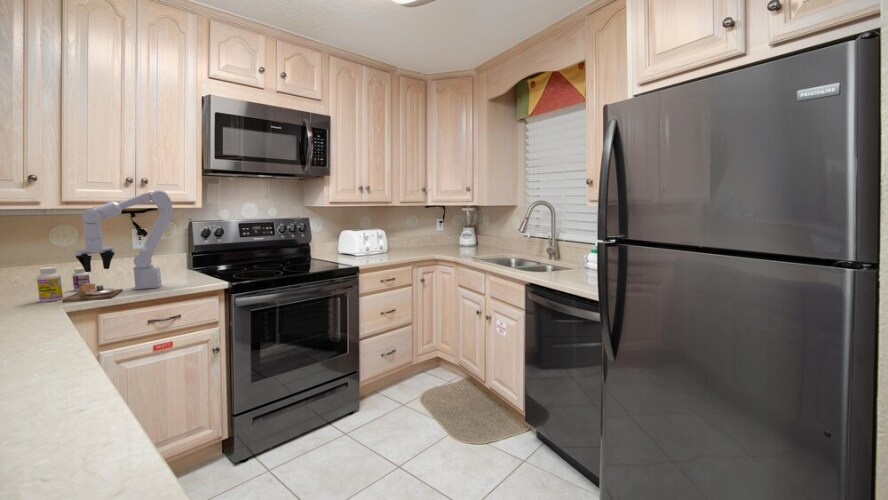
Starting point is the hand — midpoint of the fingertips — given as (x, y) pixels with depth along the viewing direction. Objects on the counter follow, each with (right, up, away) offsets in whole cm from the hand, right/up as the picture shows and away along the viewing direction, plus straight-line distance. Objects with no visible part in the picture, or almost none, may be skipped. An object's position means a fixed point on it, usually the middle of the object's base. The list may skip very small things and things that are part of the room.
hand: (97, 270), depth 173 cm
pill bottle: (-12, -9, +6) cm, 16 cm away
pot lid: (+5, -9, -6) cm, 12 cm away
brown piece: (+5, -10, -7) cm, 13 cm away
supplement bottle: (-7, -11, -13) cm, 19 cm away
